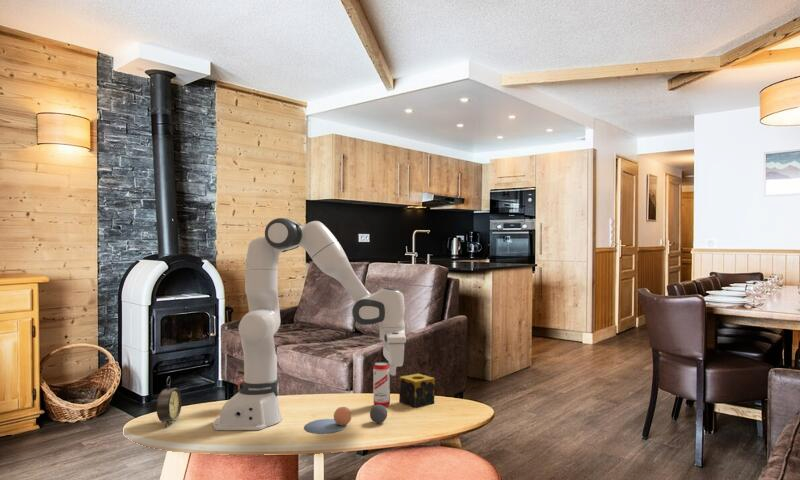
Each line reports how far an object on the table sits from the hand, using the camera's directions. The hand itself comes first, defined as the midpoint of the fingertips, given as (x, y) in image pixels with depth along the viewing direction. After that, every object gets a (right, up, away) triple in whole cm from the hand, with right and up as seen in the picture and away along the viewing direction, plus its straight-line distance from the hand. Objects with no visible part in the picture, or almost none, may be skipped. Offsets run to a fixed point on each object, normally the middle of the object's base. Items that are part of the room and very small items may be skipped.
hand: (392, 374), depth 171 cm
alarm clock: (-77, -17, -1) cm, 79 cm away
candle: (+9, -17, +21) cm, 29 cm away
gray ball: (-5, -13, -2) cm, 14 cm away
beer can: (-4, -17, +18) cm, 25 cm away
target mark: (-23, -16, -5) cm, 28 cm away
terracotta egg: (-17, -13, -4) cm, 22 cm away
